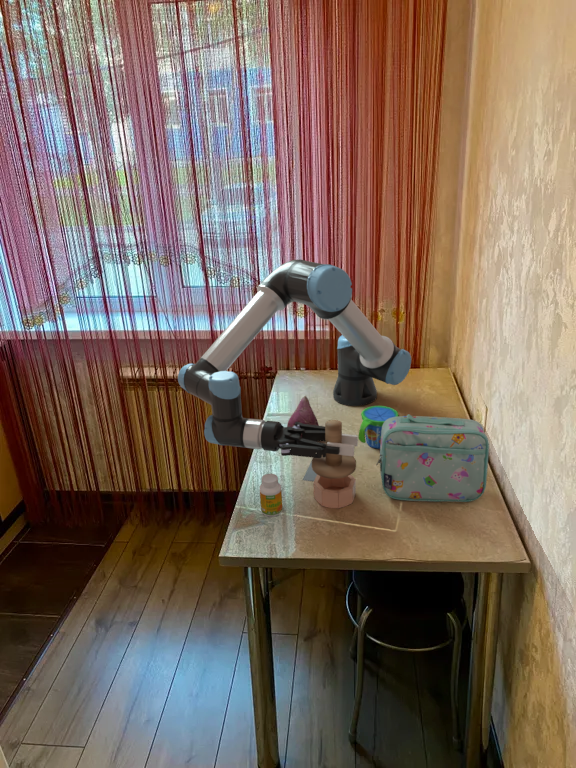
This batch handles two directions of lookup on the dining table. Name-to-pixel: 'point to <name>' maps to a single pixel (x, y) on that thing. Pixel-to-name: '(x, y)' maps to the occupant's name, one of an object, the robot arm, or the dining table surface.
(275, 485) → the supplement bottle
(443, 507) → the dining table surface
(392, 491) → the lunch box
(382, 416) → the snack cup
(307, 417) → the vegetable
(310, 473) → the mat
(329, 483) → the bowl
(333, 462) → the paper towel holder
